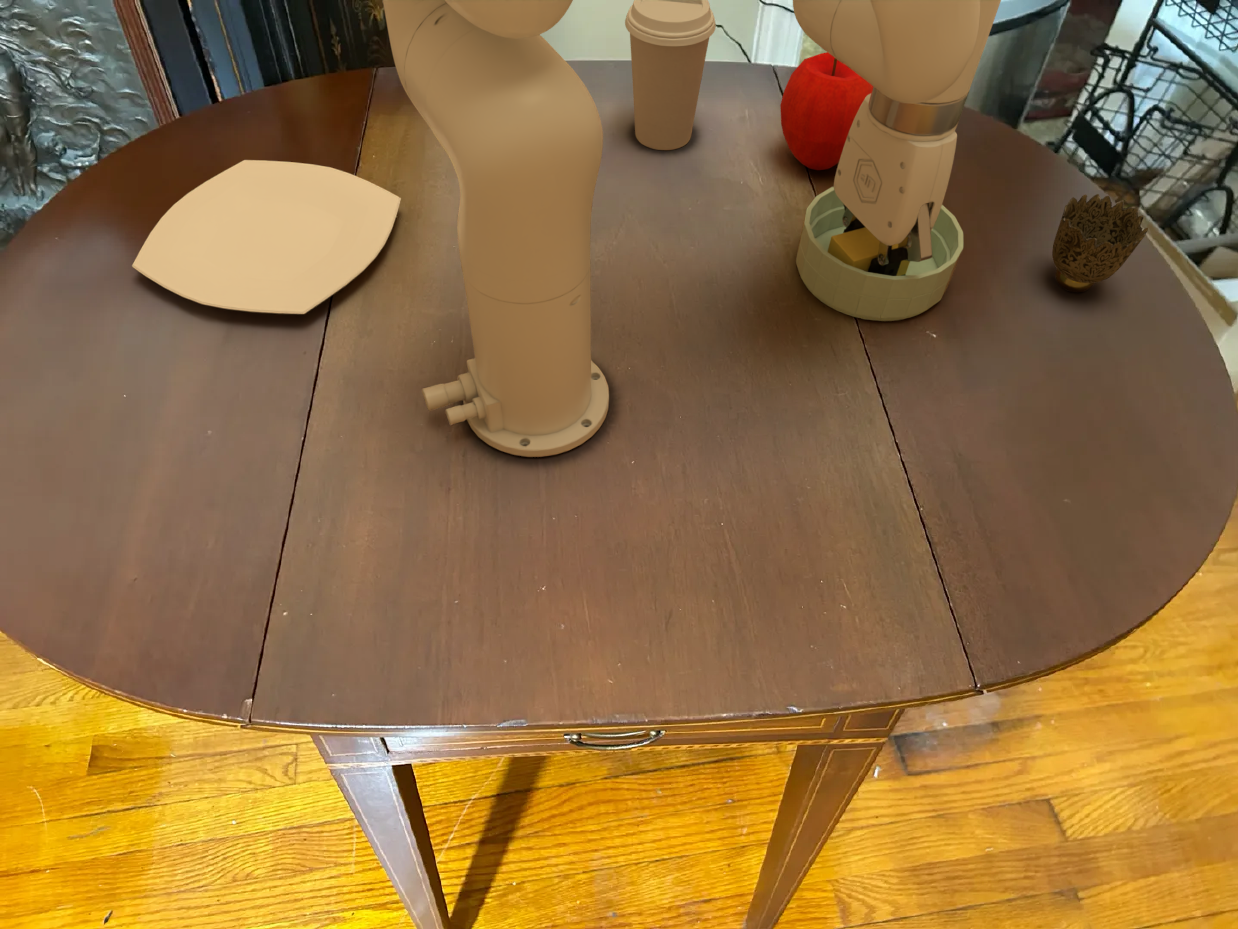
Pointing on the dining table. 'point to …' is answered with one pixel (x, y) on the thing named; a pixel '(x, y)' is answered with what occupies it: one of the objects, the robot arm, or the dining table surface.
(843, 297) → the bowl
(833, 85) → the apple
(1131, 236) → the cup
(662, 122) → the coffee cup
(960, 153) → the dining table surface
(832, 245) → the sponge
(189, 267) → the plate
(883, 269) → the robot arm
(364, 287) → the dining table surface
